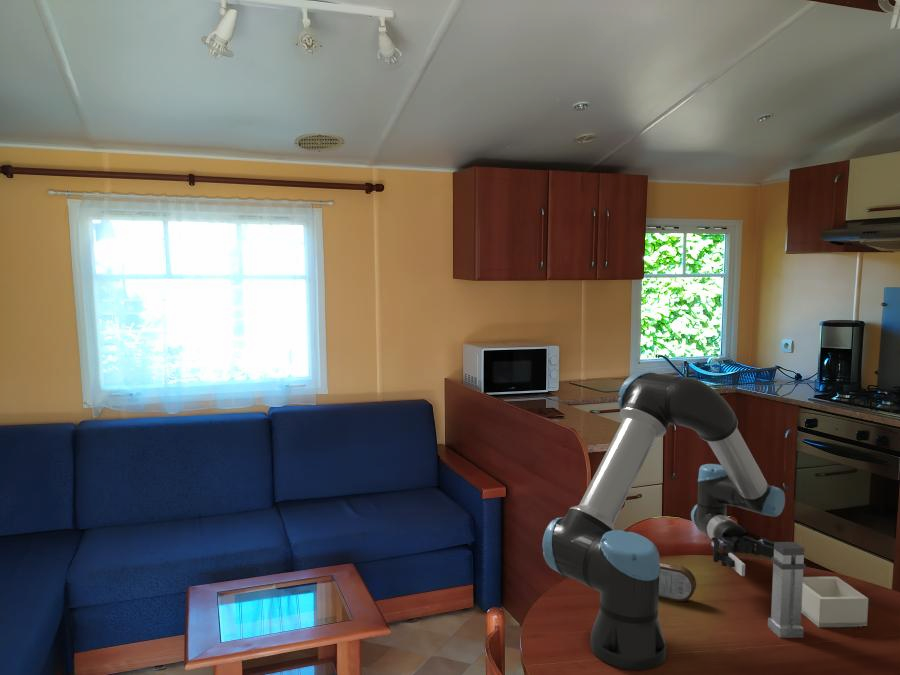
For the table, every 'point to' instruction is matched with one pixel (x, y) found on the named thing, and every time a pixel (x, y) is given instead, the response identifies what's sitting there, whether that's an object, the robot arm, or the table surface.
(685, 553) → the table surface
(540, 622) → the table surface
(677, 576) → the tin
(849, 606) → the open box
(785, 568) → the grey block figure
